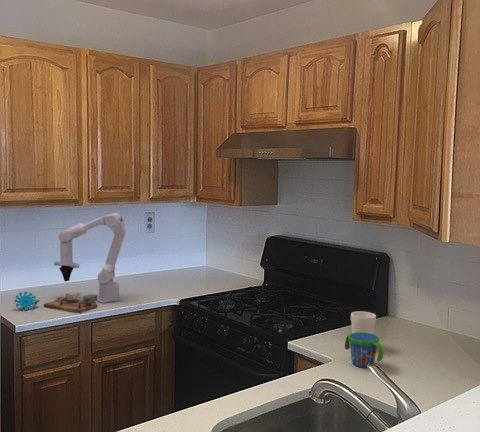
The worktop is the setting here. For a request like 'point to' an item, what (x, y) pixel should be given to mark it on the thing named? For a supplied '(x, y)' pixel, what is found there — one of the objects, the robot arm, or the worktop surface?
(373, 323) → the foam cup
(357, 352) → the snack cup
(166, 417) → the worktop surface
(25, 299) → the gear
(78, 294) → the slider
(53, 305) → the hole board
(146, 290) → the worktop surface
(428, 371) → the worktop surface
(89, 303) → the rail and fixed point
